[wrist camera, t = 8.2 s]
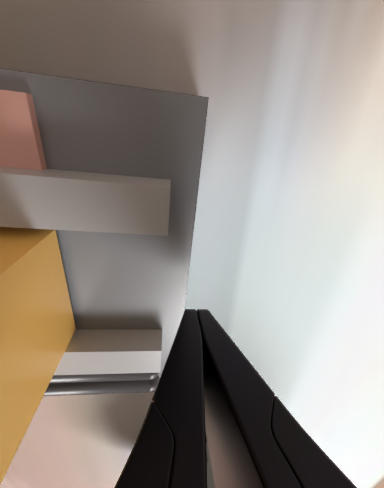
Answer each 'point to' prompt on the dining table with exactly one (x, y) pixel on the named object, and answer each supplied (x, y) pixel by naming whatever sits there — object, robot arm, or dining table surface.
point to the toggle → (29, 328)
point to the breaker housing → (106, 214)
